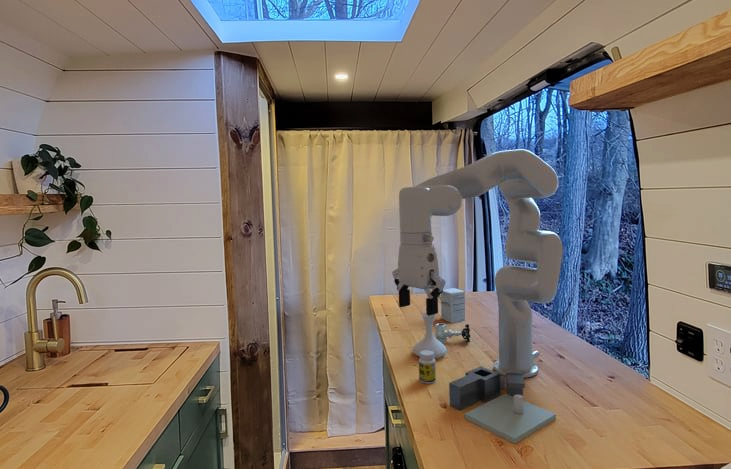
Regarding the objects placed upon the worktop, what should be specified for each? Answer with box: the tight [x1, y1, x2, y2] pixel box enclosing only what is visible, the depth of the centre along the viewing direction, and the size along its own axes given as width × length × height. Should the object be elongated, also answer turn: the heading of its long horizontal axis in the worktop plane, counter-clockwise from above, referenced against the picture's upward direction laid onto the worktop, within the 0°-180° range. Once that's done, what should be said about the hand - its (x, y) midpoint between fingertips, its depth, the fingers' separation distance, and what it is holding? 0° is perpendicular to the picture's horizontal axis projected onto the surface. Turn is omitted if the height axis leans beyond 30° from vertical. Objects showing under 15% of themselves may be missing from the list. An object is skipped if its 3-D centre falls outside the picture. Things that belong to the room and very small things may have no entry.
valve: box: [434, 322, 471, 345], centre depth 159 cm, size 7×7×12 cm
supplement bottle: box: [418, 350, 437, 385], centre depth 128 cm, size 5×5×8 cm
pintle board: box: [464, 372, 557, 445], centre depth 107 cm, size 20×15×6 cm
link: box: [448, 365, 506, 411], centre depth 117 cm, size 18×6×6 cm, turn 126°
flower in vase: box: [412, 294, 448, 359], centre depth 147 cm, size 13×11×25 cm
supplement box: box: [440, 287, 466, 324], centre depth 184 cm, size 7×7×13 cm
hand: (418, 310), depth 106 cm, fingers open, 9 cm apart
